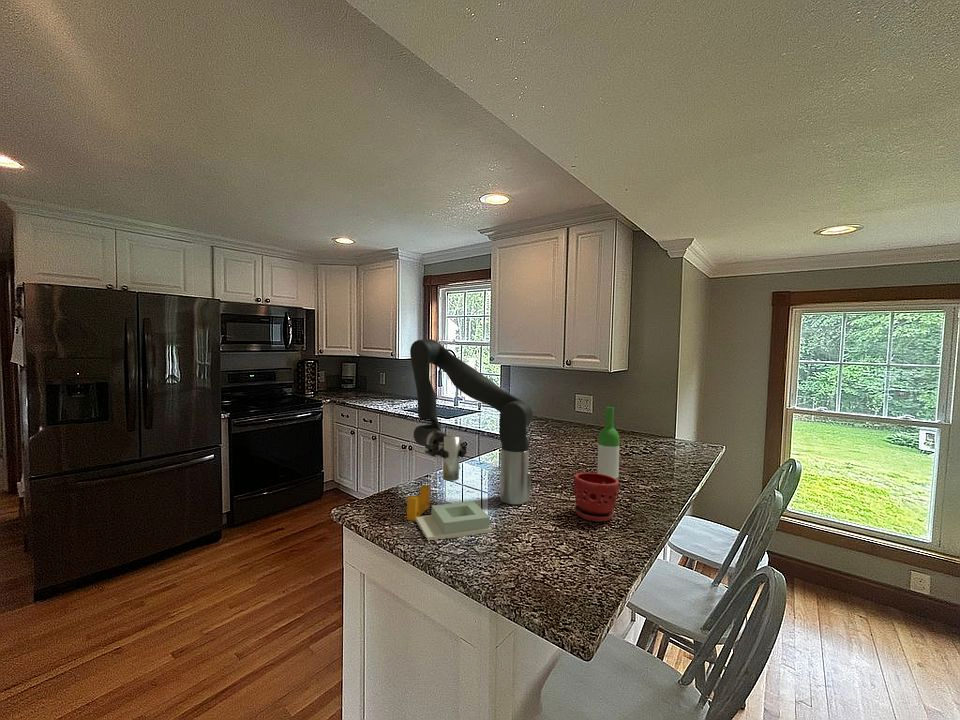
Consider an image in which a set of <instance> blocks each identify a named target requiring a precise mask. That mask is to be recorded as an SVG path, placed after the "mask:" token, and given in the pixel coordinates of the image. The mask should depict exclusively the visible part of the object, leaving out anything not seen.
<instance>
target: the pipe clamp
mask: <svg viewBox="0 0 960 720" xmlns="http://www.w3.org/2000/svg"><path fill="white" fill-rule="evenodd" d="M406 499H407V502H406V505H407V506H406V520H407V521H415V522H416V517H420V516H422V515H423V513H425V512H427V510H428V509H429V508H430V506H431V486H430V485H429V486H428V485H422V486H420V490H419V494H417V495H416V496H415V495H409V496H408V497H407V498H406Z"/></svg>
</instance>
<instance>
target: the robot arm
mask: <svg viewBox="0 0 960 720" xmlns="http://www.w3.org/2000/svg"><path fill="white" fill-rule="evenodd" d="M409 354H410V361H411V366H412V371H413V377H414V378H413V379H414V382H415V387H416V388H415V389H416V395H417V396H416V398H417V400H416V401H417V416H418V418H419V419H420V420H422V421H423V420H425V421H426V420H427V421H430V423H429V424H424V425H423V424H422V425H418V426H416V427H415V428H414V430H413V438H414V441H415V443H417V444H418V445H420V446H423V447H424V453H425V454H426V455H429V456H432V457H440V458H442V459H446V451H445V450H444V436H447V435H448V434H447V433H445V432H443V431H442V428H441V426H440V422H439V419H438V414H437V398H436V397H437V395H436V392H435V389H434V387H433V385H432V382H431V380H430V376H429V364H431V365H434V366H436V367H438V368H439V369H440V370H442V371H443V372H444V373H445V374H447V376H448V378H449V380H450V381H451V383H452V385H454V387H455V388H456V389H458V390H459V391H460V392H462V393H463V394H464V395H466V396H467V397H469V398H472V399H473V400H475V401H478V402H479V403H483V404H485V405H487V406H490V407H492V408H494V409H495V410H497V411H498V412H499V413H500V414H499V441H500V443H501V453H500V458H501V459H500V484H499V485H500V488H499V499H500V501H501V502H503V504H504V503H505V504H508V505H509V504H510V505H521V504H522V505H524V504H526V503H527V502H530V501H531V498H530V497H531V472H530V471H529V457H530V454H529V453H530V452H529V451H530V442H529V440H528V439H527V426H528V425H529V424H530V423H531V422H532V421H533V418H534V417H533V416H534V412H533V410H532V408H531V406H530V405H529V404H528V403H527V402H526V401H524V400H522V399H520V398H518V397H516V396H514V395H513V394H510V393H509V392H507V391H506V390H504V389H503V388H501V387H500V386H498V384H496V383H495V382H493V381H492V380H490V379H489V378H488V377H487V376H485V375H484V374H482V373H481V372H479V371H478V370H477V369H475V368H474V367H472V366H471V365H469V364H467V363H466V362H464V361H463V360H461V359H460V358H458V357H456V356H455V355H454V354H453V353H451V352H450V351H449V350H448V349H446V348H445V347H444V346H443V345H442V344H441V343H440V342H438V341H437V340H435V339H432V338H431V339H430V338H426V339H417V340H415V341H414V342H413V343H412V344H411V346H410V348H409ZM466 455H467V444H466V442H460V456H459V458H461V459H462V458H464V457H465V456H466ZM525 502H526V503H525Z"/></svg>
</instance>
